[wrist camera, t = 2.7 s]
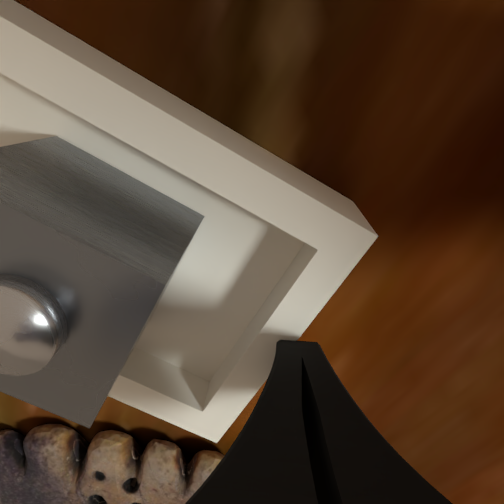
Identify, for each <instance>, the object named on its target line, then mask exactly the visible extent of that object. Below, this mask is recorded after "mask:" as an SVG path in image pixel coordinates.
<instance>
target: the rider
mask: <svg viewBox="0 0 504 504" xmlns="http://www.w3.org/2000/svg"><path fill="white" fill-rule="evenodd" d="M203 218H204V216H203V215H201V214H200V213H198V212H196V211H194V210H192V209H190V208H189V207H187V206H185V205H183V204H181V203H179V202H178V201H176V200H174V199H172V198H170V197H168V196H166V195H165V194H163V193H161V192H159V191H157V190H155V189H154V188H152V187H150V186H148V185H146V184H144V183H142V182H141V181H139V180H137V179H135V178H133V177H131V176H130V175H128V174H126V173H124V172H122V171H120V170H119V169H117V168H115V167H113V166H111V165H109V164H107V163H106V162H104V161H102V160H100V159H98V158H96V157H95V156H93V155H91V154H89V153H87V152H85V151H83V150H82V149H80V148H78V147H76V146H74V145H72V144H71V143H69V142H67V141H65V140H63V139H61V138H60V137H58V136H53V137H48V138H43V139H38V140H33V141H28V142H23V143H18V144H13V145H8V146H2V147H0V391H1V392H3V393H6V394H8V395H10V396H13V397H15V398H18V399H20V400H22V401H25V402H27V403H30V404H32V405H35V406H37V407H39V408H42V409H44V410H47V411H49V412H51V413H54V414H56V415H59V416H61V417H63V418H66V419H68V420H71V421H73V422H75V423H78V424H80V425H83V426H85V427H87V428H90V427H91V425H92V423H93V422H94V420H95V418H96V416H97V414H98V412H99V411H100V409H101V407H102V405H103V403H104V402H105V400H106V398H107V396H108V394H109V392H110V391H111V389H112V387H113V385H114V383H115V382H116V380H117V378H118V376H119V374H120V373H121V371H122V369H123V367H124V365H125V363H126V362H127V360H128V358H129V356H130V354H131V353H132V351H133V349H134V347H135V345H136V343H137V342H138V340H139V338H140V336H141V334H142V333H143V331H144V329H145V327H146V325H147V323H148V322H149V320H150V318H151V316H152V314H153V312H154V310H155V308H156V307H157V305H158V303H159V301H160V299H161V297H162V295H163V293H164V291H165V290H166V288H167V286H168V284H169V282H170V280H171V278H172V276H173V275H174V273H175V271H176V269H177V267H178V265H179V263H180V261H181V260H182V258H183V256H184V254H185V252H186V250H187V248H188V246H189V245H190V243H191V241H192V239H193V237H194V235H195V233H196V231H197V230H198V228H199V226H200V224H201V222H202V220H203Z"/></svg>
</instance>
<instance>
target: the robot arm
mask: <svg viewBox="0 0 504 504" xmlns="http://www.w3.org/2000/svg"><path fill="white" fill-rule="evenodd" d="M185 504H452V503H451V502H450V501H449V500H448V499H446V498H445V497H444V496H443V495H442V494H441V493H439V492H438V491H437V490H436V489H435V488H434V487H433V486H431V485H430V484H429V483H428V482H427V481H426V480H425V479H424V478H423V477H422V476H421V475H420V474H419V473H418V472H417V471H416V470H414V469H413V468H412V467H411V466H410V465H409V464H408V463H407V462H406V461H405V460H404V459H403V458H402V457H401V456H400V455H399V454H398V453H397V452H396V451H395V450H394V448H393V447H392V446H391V445H390V444H389V443H388V442H387V441H386V440H385V439H384V438H383V436H382V435H381V434H380V433H379V432H378V431H377V430H376V428H375V427H374V426H373V425H372V423H371V422H370V421H369V420H368V419H367V417H366V416H365V415H364V413H363V412H362V411H361V409H360V408H359V407H358V405H357V404H356V403H355V401H354V400H353V399H352V397H351V396H350V394H349V393H348V391H347V390H346V388H345V387H344V386H343V384H342V383H341V381H340V380H339V378H338V376H337V375H336V373H335V372H334V370H333V368H332V367H331V365H330V363H329V362H328V360H327V358H326V356H325V354H324V353H323V351H322V349H321V347H320V345H319V344H318V343H317V342H306V341H291V340H279V341H278V342H277V343H276V354H275V358H274V362H273V365H272V369H271V371H270V374H269V377H268V379H267V382H266V384H265V387H264V389H263V391H262V393H261V395H260V398H259V400H258V402H257V404H256V406H255V408H254V410H253V412H252V413H251V415H250V417H249V419H248V421H247V422H246V424H245V426H244V427H243V429H242V431H241V432H240V434H239V435H238V437H237V438H236V440H235V441H234V443H233V444H232V446H231V447H230V449H229V450H228V452H227V453H226V455H225V456H224V457H223V459H222V460H221V461H220V462H219V464H218V465H217V466H216V468H215V469H214V470H213V472H212V473H211V474H210V475H209V477H208V478H207V479H206V480H205V482H204V483H203V484H202V485H201V486H200V488H199V489H198V490H197V491H196V492H195V493H194V494H193V495H192V496H191V498H190V499H189V500H188V501H187V502H186V503H185Z"/></svg>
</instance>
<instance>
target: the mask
mask: <svg viewBox="0 0 504 504" xmlns="http://www.w3.org/2000/svg"><path fill="white" fill-rule="evenodd" d="M224 456H225V455H223V454H221V453H219V452H217V451H209V450H202V451H200V452H198V453H196V454H195V455H194V457H193V459H192V460H191V461H190V463H188V464H187V462H186V460H185V458H184V455H183V453H182V450H181V449H180V448H179V447H178V446H177V445H176V444H175V443H172V442H169V441H165V440H158V439H153V440H152V441H150V442H149V443H148V444H147V446H146V448H145V450H144V451H143V450H142V448H141V447H140V446H139V444H138V443H137V442H136V441H135V439H134V438H133V437H132V436H131V435H128V434H126V433H123V432H119V431H115V430H107V431H101V432H99V433H97V434H96V435H95V436H94V437H93V439H92V441H91V443H90V445H89V444H88V443H87V442H86V440H85V439H84V438H83V437H82V436H81V435H80V434H79V433H77V432H76V431H75V430H74V429H73V428H70V427H67V426H65V425H62V424H44V425H40V426H37V427H34V428H33V429H31V430H30V431H29V432H28V433H27V435H26V437H25V436H23V435H21V434H20V433H18V432H15V431H13V430H8V429H5V430H1V431H0V504H185V503H186V502H187V501H188V500H189V499H190V498H191V496H192V495H193V494H194V493H195V492H196V491H197V490H198V489H199V488H200V486H201V485H202V484H203V483H204V482H205V480H206V479H207V478H208V477H209V475H210V474H211V473H212V472H213V470H214V469H215V468H216V466H217V465H218V464H219V462H220V461H221V460H222V459H223V457H224Z"/></svg>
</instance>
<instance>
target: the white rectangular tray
mask: <svg viewBox="0 0 504 504" xmlns="http://www.w3.org/2000/svg"><path fill="white" fill-rule="evenodd" d="M53 136H58V137H60V138H61V139H63V140H65V141H67V142H69V143H71V144H72V145H74V146H76V147H78V148H80V149H82V150H83V151H85V152H87V153H89V154H91V155H93V156H95V157H96V158H98V159H100V160H102V161H104V162H106V163H107V164H109V165H111V166H113V167H115V168H117V169H119V170H120V171H122V172H124V173H126V174H128V175H130V176H131V177H133V178H135V179H137V180H139V181H141V182H142V183H144V184H146V185H148V186H150V187H152V188H154V189H155V190H157V191H159V192H161V193H163V194H165V195H166V196H168V197H170V198H172V199H174V200H176V201H178V202H179V203H181V204H183V205H185V206H187V207H189V208H190V209H192V210H194V211H196V212H198V213H200V214H201V215H203V216H204V218H203V220H202V222H201V224H200V226H199V228H198V230H197V231H196V233H195V235H194V237H193V239H192V241H191V243H190V245H189V246H188V248H187V250H186V252H185V254H184V256H183V258H182V260H181V261H180V263H179V265H178V267H177V269H176V271H175V273H174V275H173V276H172V278H171V280H170V282H169V284H168V286H167V288H166V290H165V291H164V293H163V295H162V297H161V299H160V301H159V303H158V305H157V307H156V308H155V310H154V312H153V314H152V316H151V318H150V320H149V322H148V323H147V325H146V327H145V329H144V331H143V333H142V334H141V336H140V338H139V340H138V342H137V343H136V345H135V347H134V349H133V351H132V353H131V354H130V356H129V358H128V360H127V362H126V363H125V365H124V367H123V369H122V371H121V373H120V374H119V376H118V378H117V380H116V382H115V383H114V385H113V387H112V389H111V391H110V392H109V394H108V396H109V397H112V398H114V399H116V400H119V401H121V402H123V403H125V404H128V405H130V406H132V407H135V408H137V409H139V410H142V411H144V412H146V413H148V414H151V415H153V416H155V417H158V418H160V419H162V420H165V421H167V422H169V423H172V424H174V425H176V426H178V427H181V428H183V429H185V430H188V431H190V432H192V433H195V434H197V435H199V436H201V437H204V438H206V439H208V440H211V441H213V442H215V443H217V442H218V441H219V440H220V438H221V437H222V436H223V435H224V433H225V432H226V431H227V429H228V428H229V427H230V426H231V424H232V423H233V422H234V421H235V419H236V418H237V417H238V415H239V414H240V413H241V412H242V410H243V409H244V408H245V406H246V405H247V404H248V403H249V401H250V400H251V399H252V397H253V396H254V395H255V394H256V392H257V391H258V390H259V389H260V387H261V386H262V385H263V383H264V382H265V381H266V380H267V378H268V377H269V374H270V371H271V369H272V365H273V362H274V358H275V354H276V343H277V342H278V341H279V340H291V341H297V340H298V339H299V337H300V336H301V335H302V333H303V332H304V331H305V330H306V328H307V327H308V326H309V325H310V323H311V322H312V321H313V319H314V318H315V317H316V316H317V314H318V313H319V312H320V310H321V309H322V308H323V307H324V305H325V304H326V303H327V301H328V300H329V299H330V298H331V296H332V295H333V294H334V293H335V291H336V290H337V289H338V287H339V286H340V285H341V284H342V282H343V281H344V280H345V278H346V277H347V276H348V275H349V273H350V272H351V271H352V269H353V268H354V267H355V266H356V264H357V263H358V262H359V261H360V259H361V258H362V257H363V255H364V254H365V253H366V252H367V250H368V249H369V248H370V246H371V245H372V244H373V243H374V241H375V240H376V239H377V237H378V235H377V234H376V232H375V231H374V230H373V228H372V227H371V225H370V224H369V223H368V221H367V220H366V219H365V217H364V216H363V214H362V213H361V212H360V210H359V209H358V207H357V206H356V205H355V203H354V202H353V201H352V200H350V199H348V198H347V197H345V196H343V195H341V194H340V193H338V192H336V191H335V190H333V189H331V188H330V187H328V186H326V185H325V184H323V183H321V182H320V181H318V180H316V179H314V178H313V177H311V176H309V175H308V174H306V173H304V172H303V171H301V170H299V169H298V168H296V167H294V166H293V165H291V164H289V163H287V162H286V161H284V160H282V159H281V158H279V157H277V156H276V155H274V154H272V153H271V152H269V151H267V150H266V149H264V148H262V147H260V146H259V145H257V144H255V143H254V142H252V141H250V140H249V139H247V138H245V137H244V136H242V135H240V134H239V133H237V132H235V131H233V130H232V129H230V128H228V127H227V126H225V125H223V124H222V123H220V122H218V121H217V120H215V119H213V118H212V117H210V116H208V115H206V114H205V113H203V112H201V111H200V110H198V109H196V108H195V107H193V106H191V105H190V104H188V103H186V102H185V101H183V100H181V99H180V98H178V97H176V96H174V95H173V94H171V93H169V92H168V91H166V90H164V89H163V88H161V87H159V86H158V85H156V84H154V83H153V82H151V81H149V80H147V79H146V78H144V77H142V76H141V75H139V74H137V73H136V72H134V71H132V70H131V69H129V68H127V67H126V66H124V65H122V64H120V63H119V62H117V61H115V60H114V59H112V58H110V57H109V56H107V55H105V54H104V53H102V52H100V51H99V50H97V49H95V48H93V47H92V46H90V45H88V44H87V43H85V42H83V41H82V40H80V39H78V38H77V37H75V36H73V35H72V34H70V33H68V32H66V31H65V30H63V29H61V28H60V27H58V26H56V25H55V24H53V23H51V22H50V21H48V20H46V19H45V18H43V17H41V16H40V15H38V14H36V13H34V12H33V11H31V10H29V9H28V8H26V7H24V6H23V5H21V4H19V3H18V2H16V1H14V0H0V147H2V146H8V145H13V144H18V143H23V142H28V141H33V140H38V139H43V138H48V137H53Z"/></svg>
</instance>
